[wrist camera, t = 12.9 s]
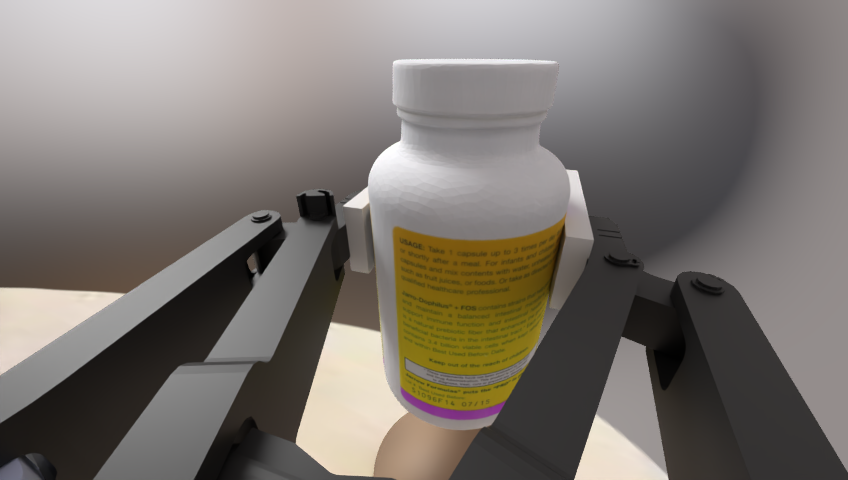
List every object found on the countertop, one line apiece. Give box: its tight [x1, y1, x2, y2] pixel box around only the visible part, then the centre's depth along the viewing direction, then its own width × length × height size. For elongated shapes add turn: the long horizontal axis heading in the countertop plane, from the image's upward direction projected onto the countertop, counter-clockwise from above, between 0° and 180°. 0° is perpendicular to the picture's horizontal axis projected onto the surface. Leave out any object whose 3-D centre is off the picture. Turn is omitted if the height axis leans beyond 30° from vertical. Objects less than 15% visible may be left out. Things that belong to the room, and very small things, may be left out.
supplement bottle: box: [368, 59, 571, 430], centre depth 13 cm, size 7×7×13 cm
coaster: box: [374, 412, 491, 480], centre depth 21 cm, size 9×9×1 cm
